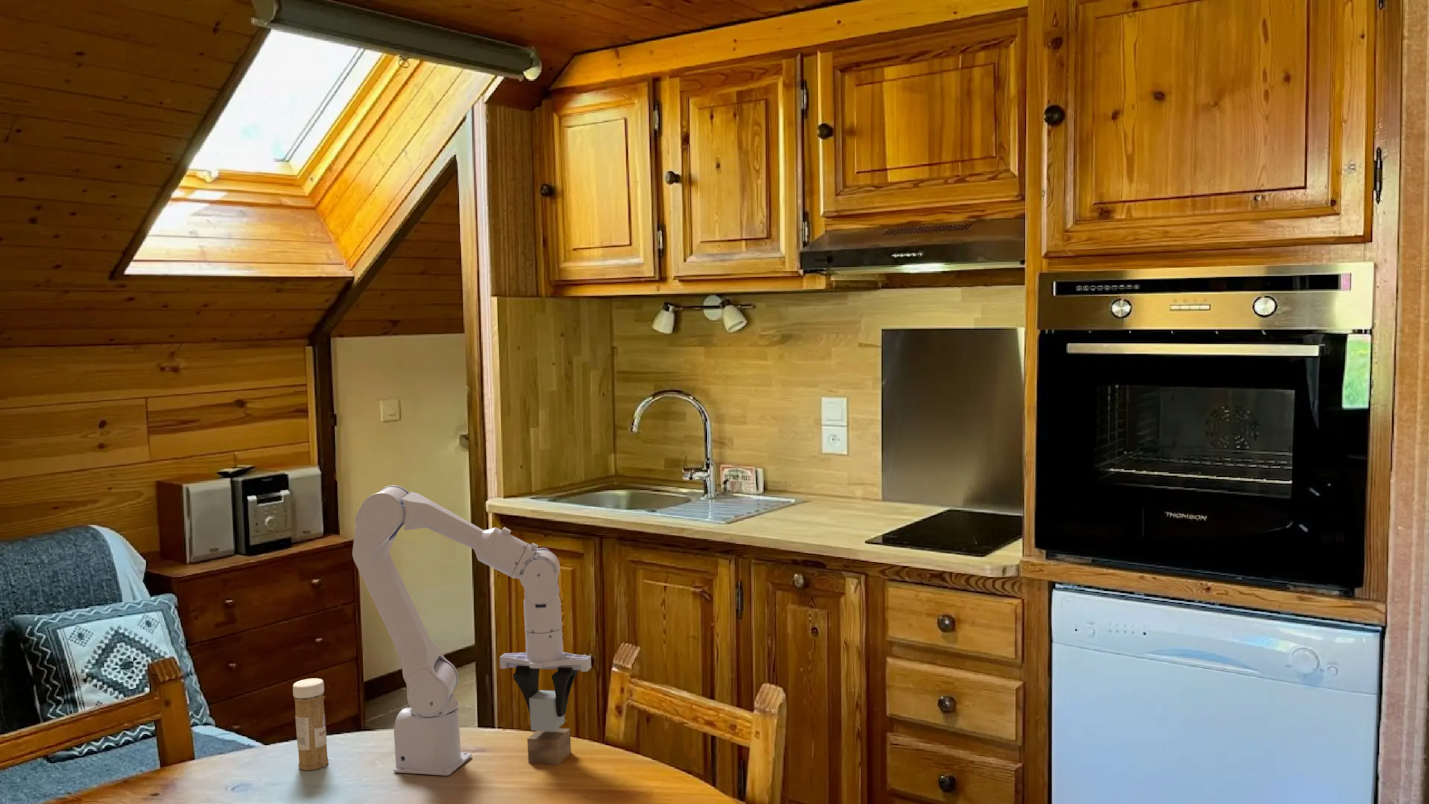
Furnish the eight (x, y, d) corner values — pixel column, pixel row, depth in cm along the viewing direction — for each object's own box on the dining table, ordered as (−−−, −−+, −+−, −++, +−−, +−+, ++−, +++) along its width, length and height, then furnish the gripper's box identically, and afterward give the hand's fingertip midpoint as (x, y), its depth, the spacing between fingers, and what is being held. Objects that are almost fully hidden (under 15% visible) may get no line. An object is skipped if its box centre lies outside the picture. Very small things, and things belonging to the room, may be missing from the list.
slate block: (530, 730, 168) (529, 698, 168) (541, 721, 172) (539, 690, 172) (555, 731, 167) (553, 699, 167) (564, 722, 171) (563, 691, 171)
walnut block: (528, 763, 168) (527, 738, 168) (542, 751, 173) (540, 727, 173) (558, 765, 167) (556, 740, 167) (571, 753, 172) (569, 728, 172)
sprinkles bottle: (331, 766, 170) (326, 682, 169) (301, 773, 168) (296, 688, 167) (324, 757, 174) (319, 675, 173) (295, 764, 172) (289, 681, 171)
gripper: (489, 634, 167) (494, 720, 168) (577, 636, 163) (582, 725, 164) (508, 622, 174) (513, 705, 175) (594, 624, 170) (598, 709, 171)
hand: (547, 714), depth 170 cm, fingers closed on slate block, 4 cm apart
